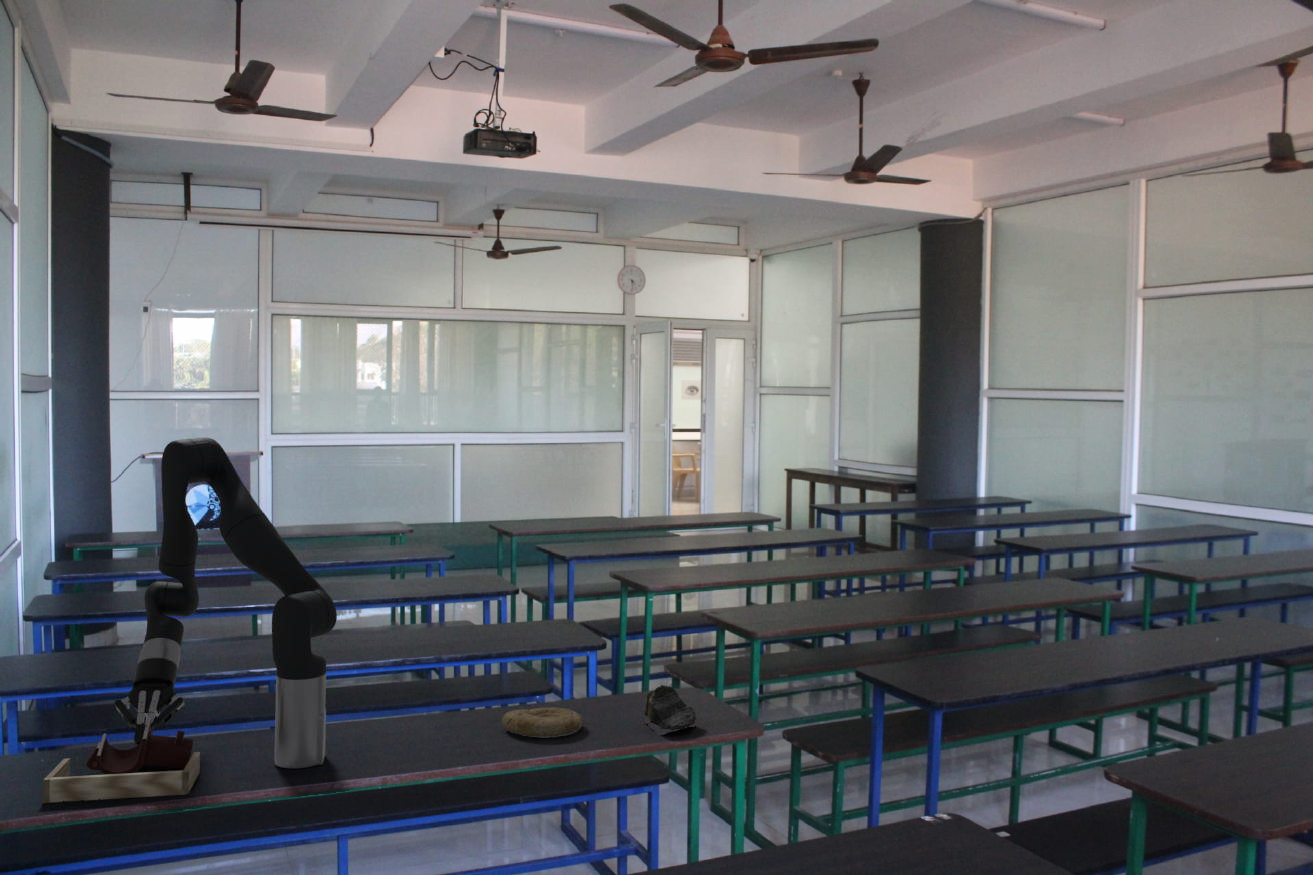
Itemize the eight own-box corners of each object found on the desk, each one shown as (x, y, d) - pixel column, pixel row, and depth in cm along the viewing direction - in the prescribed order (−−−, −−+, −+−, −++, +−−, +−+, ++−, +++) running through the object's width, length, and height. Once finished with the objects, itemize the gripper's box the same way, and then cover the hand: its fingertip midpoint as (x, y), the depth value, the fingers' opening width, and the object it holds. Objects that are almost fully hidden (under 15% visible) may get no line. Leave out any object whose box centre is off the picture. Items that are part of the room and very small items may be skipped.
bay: (199, 772, 189) (200, 751, 189) (187, 794, 179) (188, 771, 179) (63, 780, 184) (63, 758, 184) (43, 802, 173) (43, 779, 173)
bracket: (89, 754, 189) (99, 711, 187) (186, 763, 196) (197, 722, 193) (82, 777, 184) (93, 733, 181) (182, 785, 191) (194, 743, 188)
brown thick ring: (546, 748, 210) (546, 727, 210) (495, 734, 219) (495, 713, 219) (597, 729, 224) (598, 709, 224) (547, 716, 233) (548, 696, 233)
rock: (638, 719, 232) (637, 680, 229) (682, 710, 235) (681, 671, 233) (660, 752, 219) (659, 711, 216) (707, 741, 222) (706, 700, 220)
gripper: (118, 657, 200) (99, 737, 188) (190, 655, 203) (176, 734, 191) (125, 676, 205) (107, 756, 193) (195, 674, 208) (181, 752, 196)
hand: (141, 745), depth 192 cm, fingers closed
